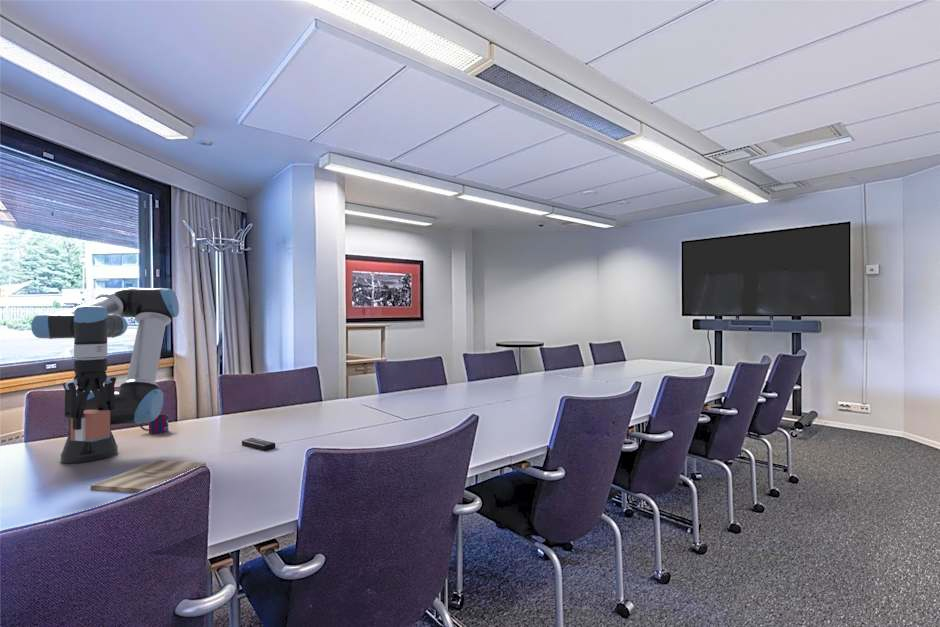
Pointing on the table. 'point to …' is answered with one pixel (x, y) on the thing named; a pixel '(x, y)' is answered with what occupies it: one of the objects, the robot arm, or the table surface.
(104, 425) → the block
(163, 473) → the board
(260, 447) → the multiport hub
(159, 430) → the mug
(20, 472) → the table surface
